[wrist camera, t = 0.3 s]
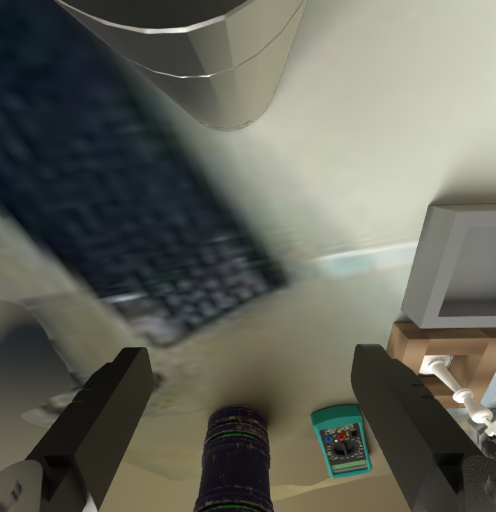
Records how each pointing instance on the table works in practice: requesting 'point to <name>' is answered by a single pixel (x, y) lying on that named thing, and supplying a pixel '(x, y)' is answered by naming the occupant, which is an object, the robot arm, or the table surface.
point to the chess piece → (458, 390)
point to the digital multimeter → (342, 440)
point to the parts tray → (454, 269)
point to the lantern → (483, 436)
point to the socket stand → (448, 343)
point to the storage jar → (235, 463)
